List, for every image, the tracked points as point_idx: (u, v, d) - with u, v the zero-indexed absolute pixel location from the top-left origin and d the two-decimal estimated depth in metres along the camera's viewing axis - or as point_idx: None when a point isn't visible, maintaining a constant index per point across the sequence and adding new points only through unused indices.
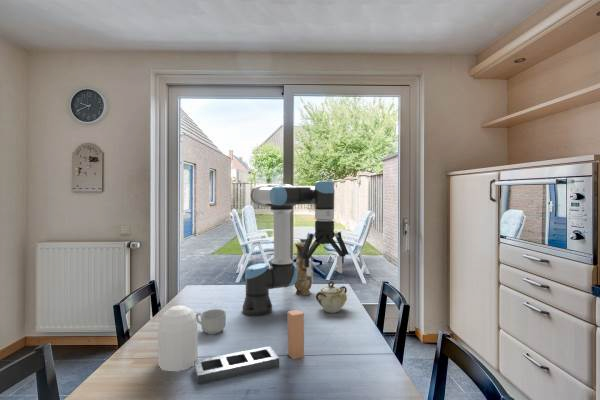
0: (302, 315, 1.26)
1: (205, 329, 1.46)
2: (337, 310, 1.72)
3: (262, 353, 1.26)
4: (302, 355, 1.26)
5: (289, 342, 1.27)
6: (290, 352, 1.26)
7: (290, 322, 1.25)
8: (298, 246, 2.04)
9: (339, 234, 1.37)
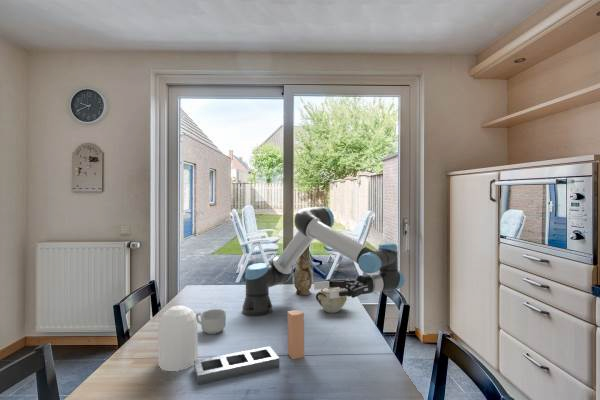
0: (302, 315, 1.26)
1: (205, 329, 1.46)
2: (337, 310, 1.72)
3: (262, 353, 1.26)
4: (302, 355, 1.26)
5: (289, 342, 1.27)
6: (290, 352, 1.26)
7: (291, 322, 1.25)
8: None
9: None
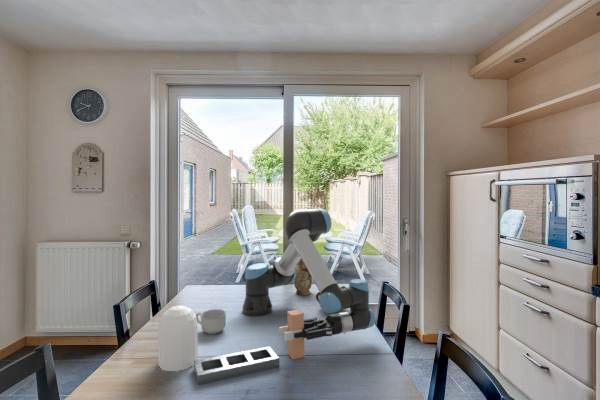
0: (302, 315, 1.26)
1: (205, 329, 1.46)
2: None
3: (262, 353, 1.26)
4: (302, 355, 1.26)
5: (289, 342, 1.27)
6: (290, 352, 1.26)
7: (290, 322, 1.25)
8: None
9: None
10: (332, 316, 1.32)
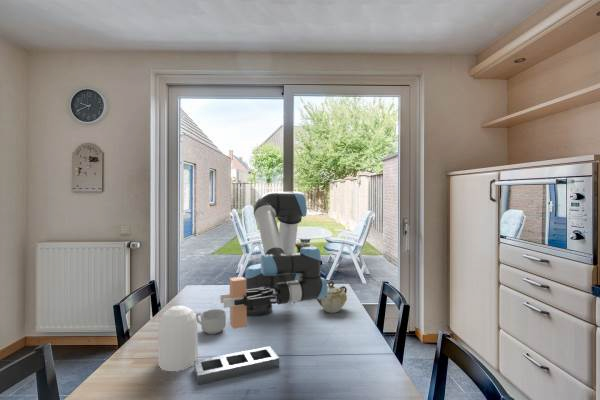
0: (244, 281, 1.17)
1: (205, 329, 1.46)
2: (337, 310, 1.72)
3: (262, 353, 1.26)
4: (244, 324, 1.17)
5: (231, 310, 1.18)
6: (232, 321, 1.17)
7: (231, 289, 1.16)
8: (298, 246, 2.04)
9: None
10: (279, 284, 1.23)
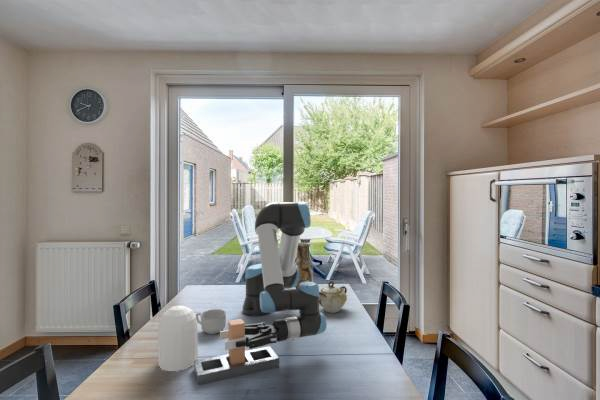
0: (243, 325, 1.17)
1: (205, 329, 1.46)
2: (337, 310, 1.72)
3: (262, 353, 1.26)
4: None
5: (229, 353, 1.18)
6: (230, 364, 1.17)
7: (230, 332, 1.17)
8: (298, 246, 2.04)
9: None
10: (278, 321, 1.23)
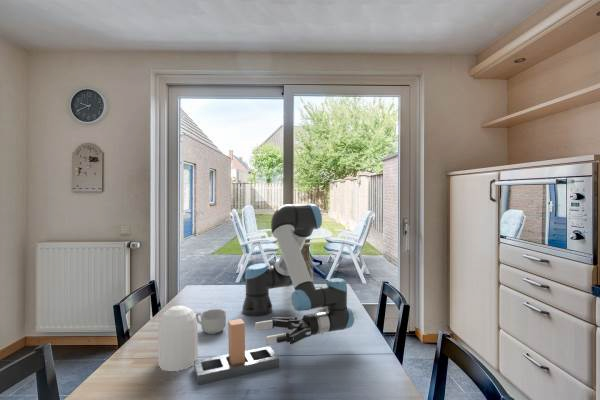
0: (243, 325, 1.17)
1: (205, 329, 1.46)
2: None
3: (262, 353, 1.26)
4: None
5: (229, 353, 1.18)
6: (230, 364, 1.17)
7: (230, 332, 1.17)
8: None
9: None
10: (308, 316, 1.28)
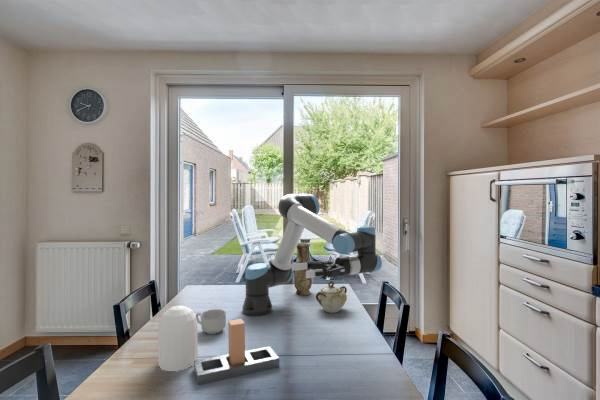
0: (243, 325, 1.17)
1: (205, 329, 1.46)
2: (337, 310, 1.72)
3: (262, 353, 1.26)
4: None
5: (229, 353, 1.18)
6: (230, 364, 1.17)
7: (230, 332, 1.17)
8: (298, 246, 2.04)
9: None
10: (341, 258, 1.39)
